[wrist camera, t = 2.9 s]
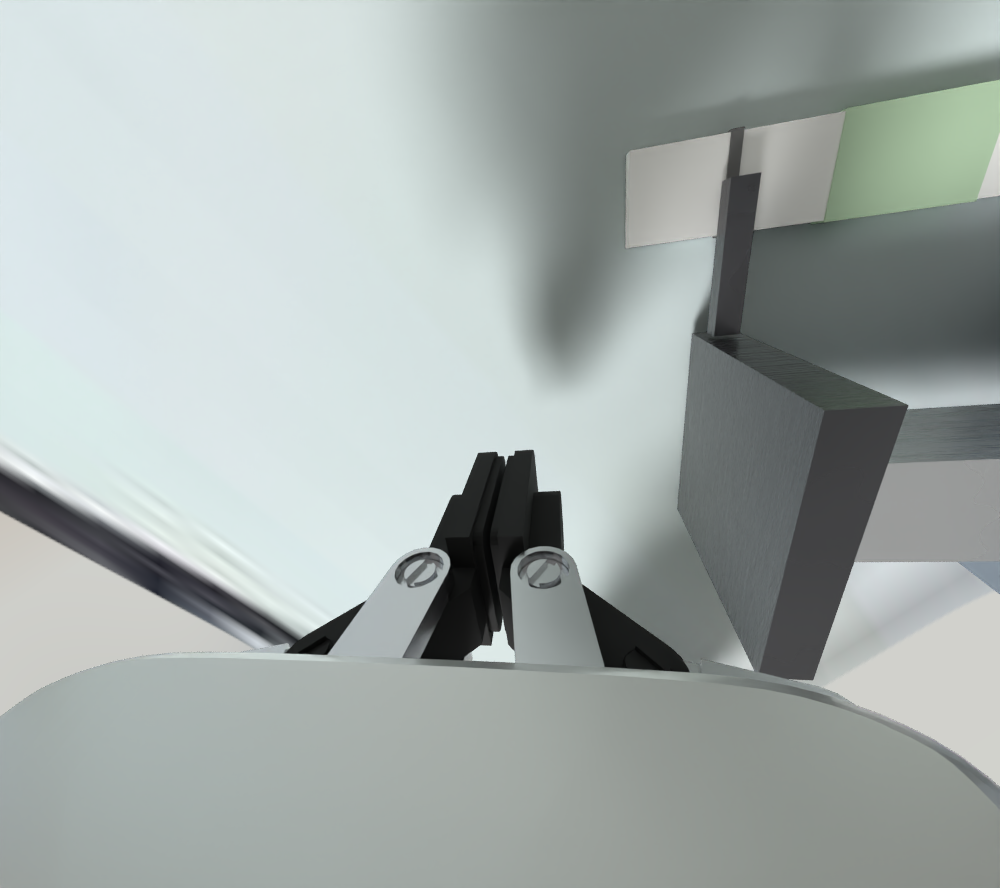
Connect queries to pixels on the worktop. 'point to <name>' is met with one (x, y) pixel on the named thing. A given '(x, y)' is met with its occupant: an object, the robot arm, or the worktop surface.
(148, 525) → the worktop surface
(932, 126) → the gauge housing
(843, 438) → the plunger
